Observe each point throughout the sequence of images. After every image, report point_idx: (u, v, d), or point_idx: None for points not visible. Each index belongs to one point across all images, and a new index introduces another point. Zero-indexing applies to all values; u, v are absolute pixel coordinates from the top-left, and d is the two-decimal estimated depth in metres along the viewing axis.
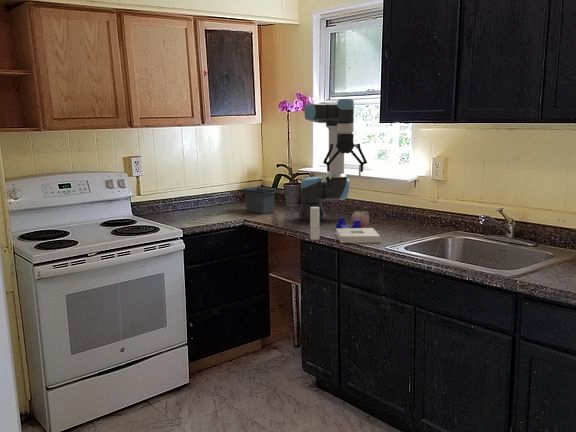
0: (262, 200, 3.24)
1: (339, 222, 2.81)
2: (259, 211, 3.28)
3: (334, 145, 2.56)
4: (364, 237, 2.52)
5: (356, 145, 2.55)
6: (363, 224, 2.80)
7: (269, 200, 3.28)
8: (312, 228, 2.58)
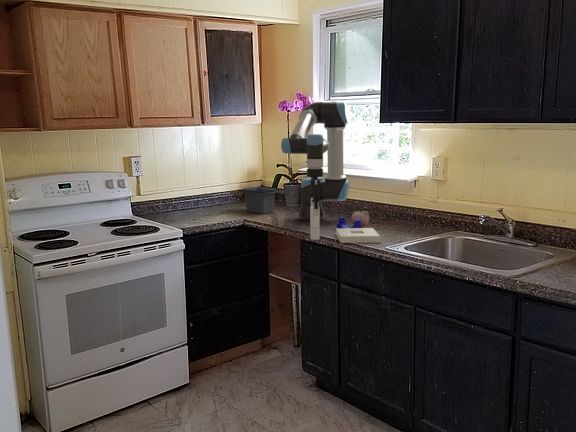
0: (262, 200, 3.24)
1: (340, 222, 2.82)
2: (259, 211, 3.28)
3: None
4: (364, 237, 2.52)
5: None
6: (363, 224, 2.80)
7: (269, 200, 3.28)
8: (312, 228, 2.58)
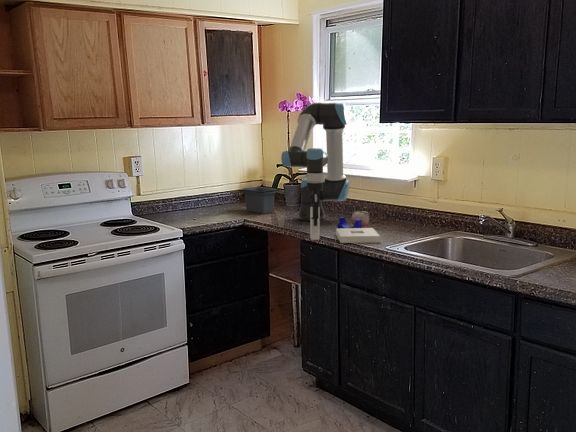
0: (262, 200, 3.24)
1: (340, 222, 2.83)
2: (259, 211, 3.28)
3: None
4: (364, 237, 2.52)
5: None
6: (363, 224, 2.80)
7: (269, 200, 3.28)
8: None
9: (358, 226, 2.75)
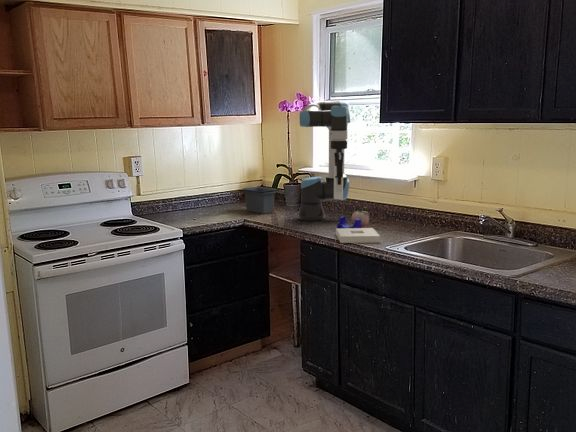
0: (262, 200, 3.24)
1: (340, 221, 2.83)
2: (259, 211, 3.28)
3: None
4: (364, 237, 2.52)
5: None
6: (363, 224, 2.80)
7: (269, 200, 3.28)
8: None
9: (357, 226, 2.76)
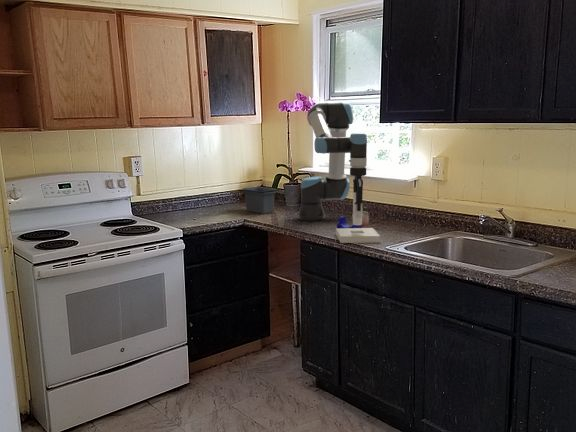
0: (262, 200, 3.24)
1: (340, 221, 2.83)
2: (259, 211, 3.28)
3: None
4: (364, 237, 2.52)
5: None
6: (362, 224, 2.80)
7: (269, 200, 3.28)
8: None
9: (357, 226, 2.76)
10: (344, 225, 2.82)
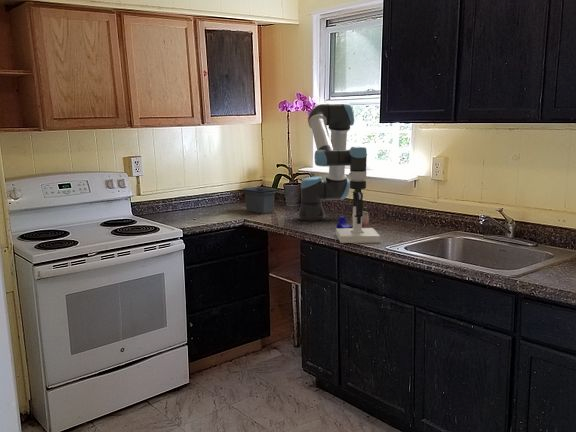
0: (262, 200, 3.24)
1: (340, 221, 2.84)
2: (259, 211, 3.28)
3: None
4: (364, 237, 2.52)
5: None
6: (362, 224, 2.80)
7: (269, 200, 3.28)
8: None
9: None
10: (344, 225, 2.82)
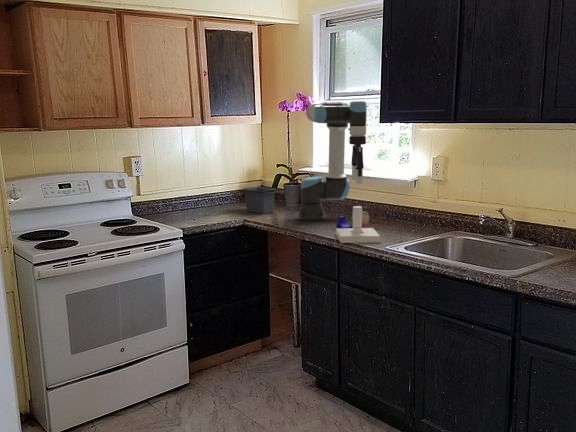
0: (262, 200, 3.24)
1: (339, 221, 2.84)
2: (259, 211, 3.28)
3: (354, 147, 2.59)
4: (364, 237, 2.52)
5: None
6: (362, 224, 2.80)
7: (269, 200, 3.28)
8: (355, 228, 2.59)
9: None
10: (343, 225, 2.82)
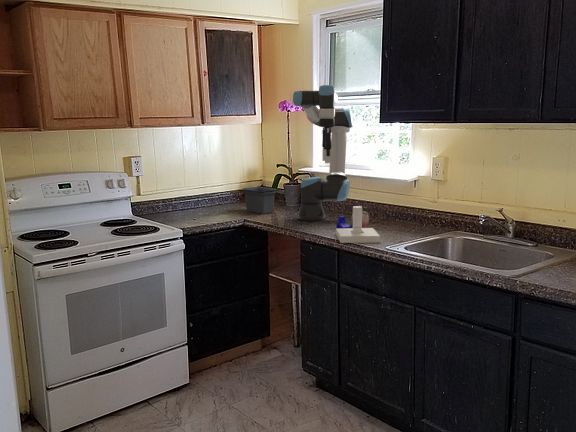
0: (262, 200, 3.24)
1: (339, 221, 2.85)
2: (259, 211, 3.28)
3: (324, 129, 2.73)
4: (364, 237, 2.52)
5: None
6: (362, 224, 2.80)
7: (269, 200, 3.28)
8: (355, 228, 2.59)
9: None
10: (343, 225, 2.83)
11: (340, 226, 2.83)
